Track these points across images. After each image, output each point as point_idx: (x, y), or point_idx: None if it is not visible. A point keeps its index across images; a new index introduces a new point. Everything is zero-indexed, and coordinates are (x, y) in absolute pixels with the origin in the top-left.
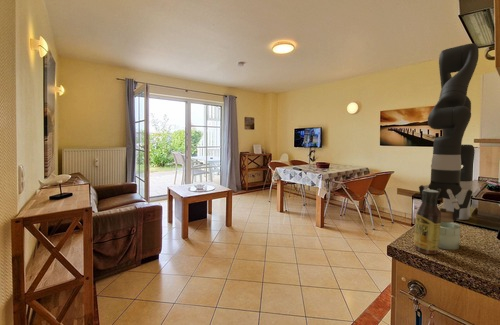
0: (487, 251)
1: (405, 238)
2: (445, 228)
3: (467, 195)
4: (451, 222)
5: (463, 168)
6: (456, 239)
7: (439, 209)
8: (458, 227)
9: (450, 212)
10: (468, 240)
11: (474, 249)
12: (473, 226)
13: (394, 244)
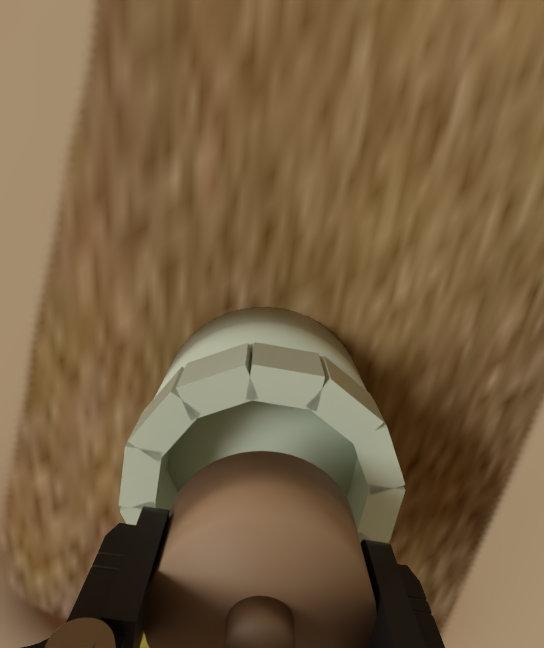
0: (510, 389)
1: (45, 421)
2: None
3: None
4: (352, 406)
5: None
6: None
7: (224, 559)
8: (378, 537)
9: (334, 644)
10: (464, 216)
11: (444, 394)
12: None
13: (3, 558)
